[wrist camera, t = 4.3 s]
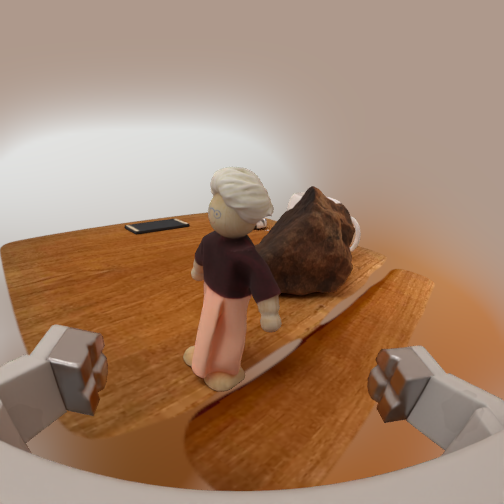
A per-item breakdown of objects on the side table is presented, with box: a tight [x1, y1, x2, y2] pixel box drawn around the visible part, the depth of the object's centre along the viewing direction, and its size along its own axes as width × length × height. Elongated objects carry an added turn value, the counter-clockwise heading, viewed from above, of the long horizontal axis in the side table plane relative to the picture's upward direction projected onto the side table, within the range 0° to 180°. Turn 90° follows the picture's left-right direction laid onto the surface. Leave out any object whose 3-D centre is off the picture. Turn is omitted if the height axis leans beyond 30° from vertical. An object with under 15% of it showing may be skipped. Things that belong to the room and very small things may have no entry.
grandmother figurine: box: [183, 167, 281, 392], centre depth 17 cm, size 8×4×13 cm, turn 51°
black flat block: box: [125, 219, 189, 234], centre depth 48 cm, size 10×4×1 cm, turn 139°
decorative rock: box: [255, 186, 355, 296], centre depth 31 cm, size 12×6×11 cm, turn 102°
